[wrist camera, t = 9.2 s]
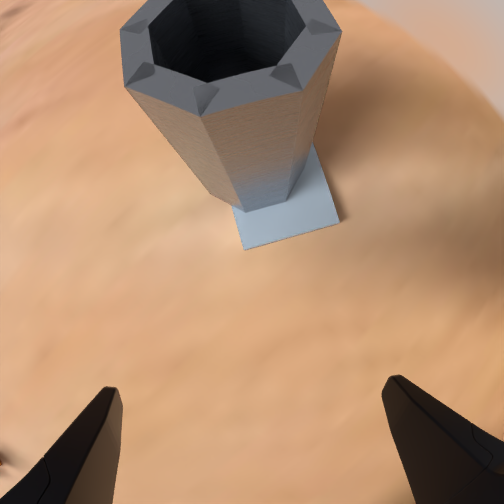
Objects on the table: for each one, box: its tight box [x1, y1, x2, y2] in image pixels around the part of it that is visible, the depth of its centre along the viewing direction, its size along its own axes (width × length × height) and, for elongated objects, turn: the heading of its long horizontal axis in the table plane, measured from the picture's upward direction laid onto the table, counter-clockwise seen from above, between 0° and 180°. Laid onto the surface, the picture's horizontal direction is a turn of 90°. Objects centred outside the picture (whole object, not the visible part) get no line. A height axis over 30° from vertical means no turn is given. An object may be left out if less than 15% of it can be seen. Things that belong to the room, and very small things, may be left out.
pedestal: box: [231, 142, 340, 250], centre depth 18 cm, size 11×6×3 cm, turn 16°
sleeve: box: [120, 0, 342, 213], centre depth 13 cm, size 6×6×12 cm
